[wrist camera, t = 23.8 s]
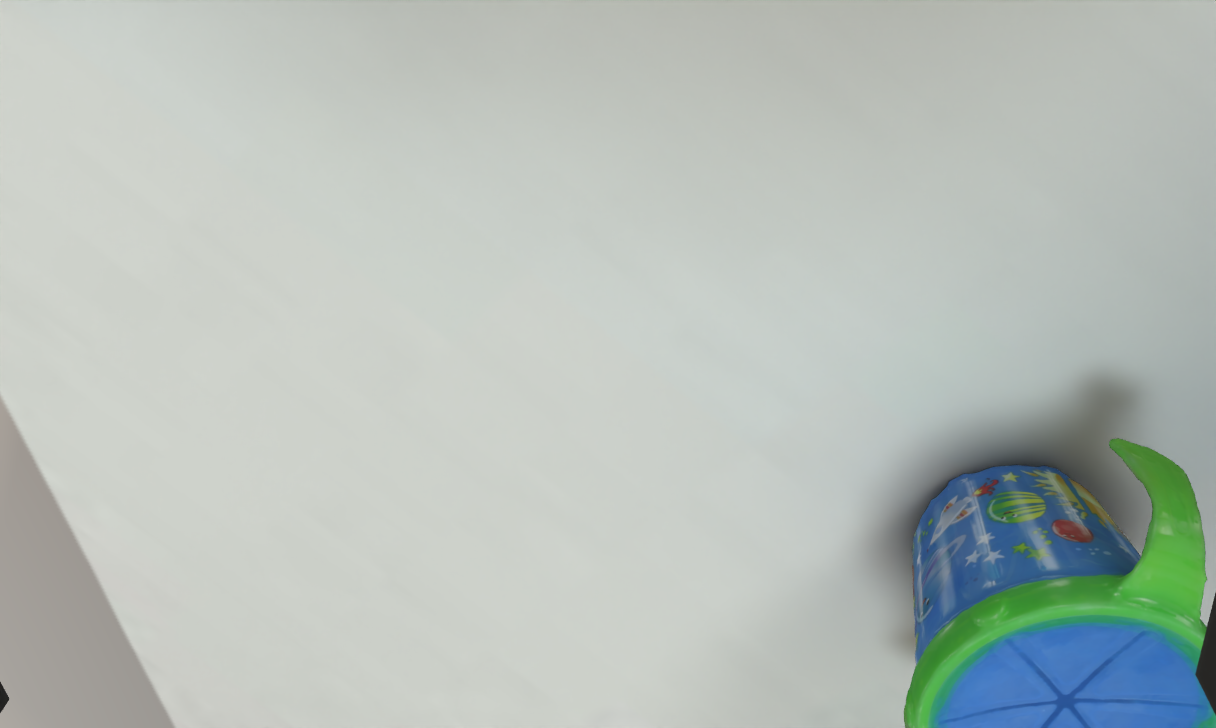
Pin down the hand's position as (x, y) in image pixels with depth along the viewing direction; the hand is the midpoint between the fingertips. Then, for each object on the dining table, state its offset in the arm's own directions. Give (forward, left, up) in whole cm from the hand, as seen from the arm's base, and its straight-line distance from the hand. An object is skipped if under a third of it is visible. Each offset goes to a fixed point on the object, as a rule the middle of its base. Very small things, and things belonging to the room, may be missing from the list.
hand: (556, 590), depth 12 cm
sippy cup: (-13, +24, -29) cm, 40 cm away
